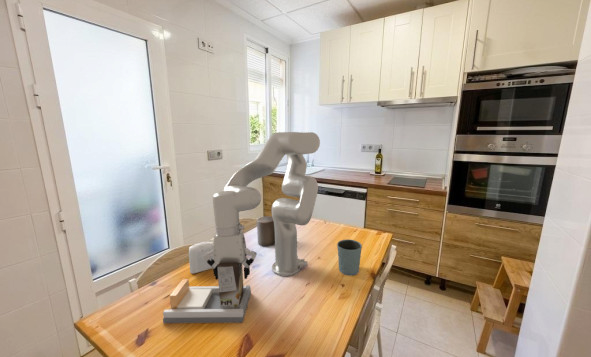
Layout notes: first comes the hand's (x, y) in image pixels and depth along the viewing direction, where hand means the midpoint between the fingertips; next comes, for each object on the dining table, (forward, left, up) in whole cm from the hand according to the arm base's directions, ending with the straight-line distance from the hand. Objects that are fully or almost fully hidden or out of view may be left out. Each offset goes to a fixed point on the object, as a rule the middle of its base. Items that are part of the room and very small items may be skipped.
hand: (232, 276), depth 80 cm
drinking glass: (-44, -21, -11) cm, 50 cm away
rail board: (+8, +1, -11) cm, 13 cm away
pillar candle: (-5, -49, -11) cm, 51 cm away
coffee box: (0, 0, -10) cm, 10 cm away
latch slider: (+14, +1, -9) cm, 17 cm away
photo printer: (+20, -23, -11) cm, 33 cm away
